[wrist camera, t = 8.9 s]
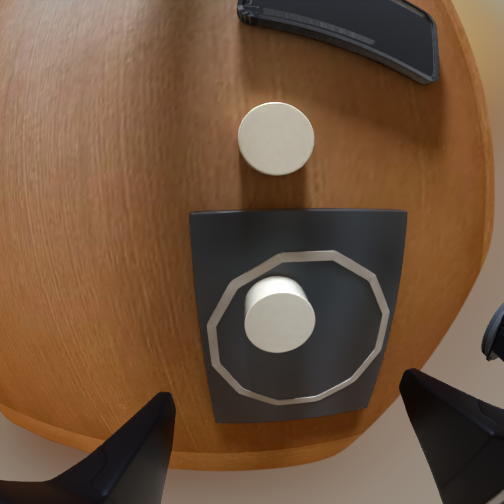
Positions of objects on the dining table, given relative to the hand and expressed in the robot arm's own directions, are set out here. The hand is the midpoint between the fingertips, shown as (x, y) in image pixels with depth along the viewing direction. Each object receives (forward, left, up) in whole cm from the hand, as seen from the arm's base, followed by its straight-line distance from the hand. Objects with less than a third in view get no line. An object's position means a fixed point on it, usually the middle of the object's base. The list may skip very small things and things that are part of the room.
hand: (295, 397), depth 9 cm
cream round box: (0, -9, -10) cm, 14 cm away
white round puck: (0, +1, -9) cm, 9 cm away
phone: (-6, -20, -10) cm, 23 cm away
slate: (-2, +4, -10) cm, 11 cm away
